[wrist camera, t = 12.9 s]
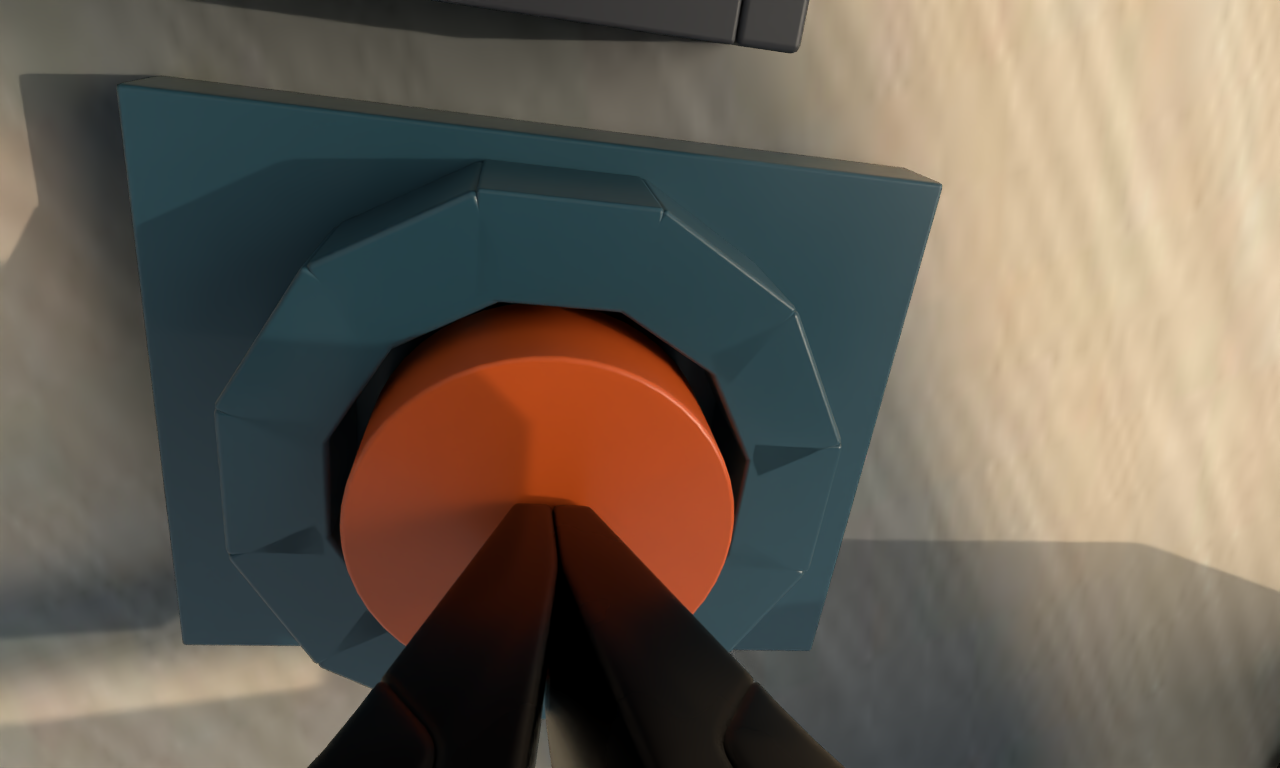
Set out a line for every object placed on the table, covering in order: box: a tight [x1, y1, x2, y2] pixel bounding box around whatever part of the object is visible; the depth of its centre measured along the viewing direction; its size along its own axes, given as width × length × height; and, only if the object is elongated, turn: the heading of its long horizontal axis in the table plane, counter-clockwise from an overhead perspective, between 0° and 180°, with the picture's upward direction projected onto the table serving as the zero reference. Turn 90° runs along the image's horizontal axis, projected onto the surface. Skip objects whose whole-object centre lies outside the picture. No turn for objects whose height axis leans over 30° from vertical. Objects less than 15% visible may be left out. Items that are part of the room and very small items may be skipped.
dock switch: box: [116, 76, 942, 720], centre depth 11 cm, size 10×8×3 cm
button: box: [340, 304, 734, 646], centre depth 10 cm, size 4×4×2 cm
